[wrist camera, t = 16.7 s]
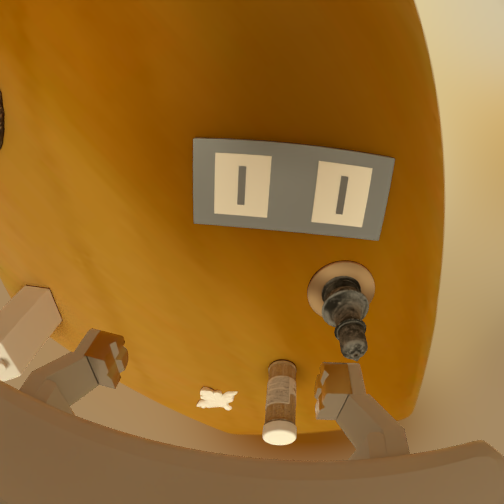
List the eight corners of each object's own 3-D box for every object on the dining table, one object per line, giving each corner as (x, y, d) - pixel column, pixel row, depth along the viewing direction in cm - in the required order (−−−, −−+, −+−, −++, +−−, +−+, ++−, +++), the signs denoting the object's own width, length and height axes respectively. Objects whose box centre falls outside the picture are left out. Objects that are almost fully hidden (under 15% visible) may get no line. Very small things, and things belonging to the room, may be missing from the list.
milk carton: (38, 314, 49) (-14, 380, 32) (25, 284, 46) (-35, 349, 29) (62, 319, 48) (9, 393, 31) (49, 287, 45) (-14, 360, 28)
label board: (195, 137, 32) (192, 138, 31) (392, 157, 31) (395, 159, 30) (195, 220, 37) (193, 224, 36) (376, 237, 35) (378, 241, 34)
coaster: (313, 257, 37) (313, 259, 37) (381, 263, 37) (382, 266, 36) (302, 314, 42) (302, 317, 41) (364, 318, 41) (365, 321, 41)
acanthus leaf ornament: (197, 401, 55) (195, 408, 54) (197, 381, 52) (195, 389, 50) (235, 408, 55) (233, 416, 53) (238, 389, 52) (236, 397, 50)
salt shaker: (362, 308, 40) (381, 375, 29) (319, 312, 41) (327, 381, 30) (363, 271, 37) (388, 336, 26) (318, 276, 38) (328, 343, 27)
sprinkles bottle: (295, 377, 48) (294, 446, 36) (267, 376, 48) (261, 445, 37) (297, 359, 46) (298, 432, 34) (268, 358, 46) (262, 431, 34)
